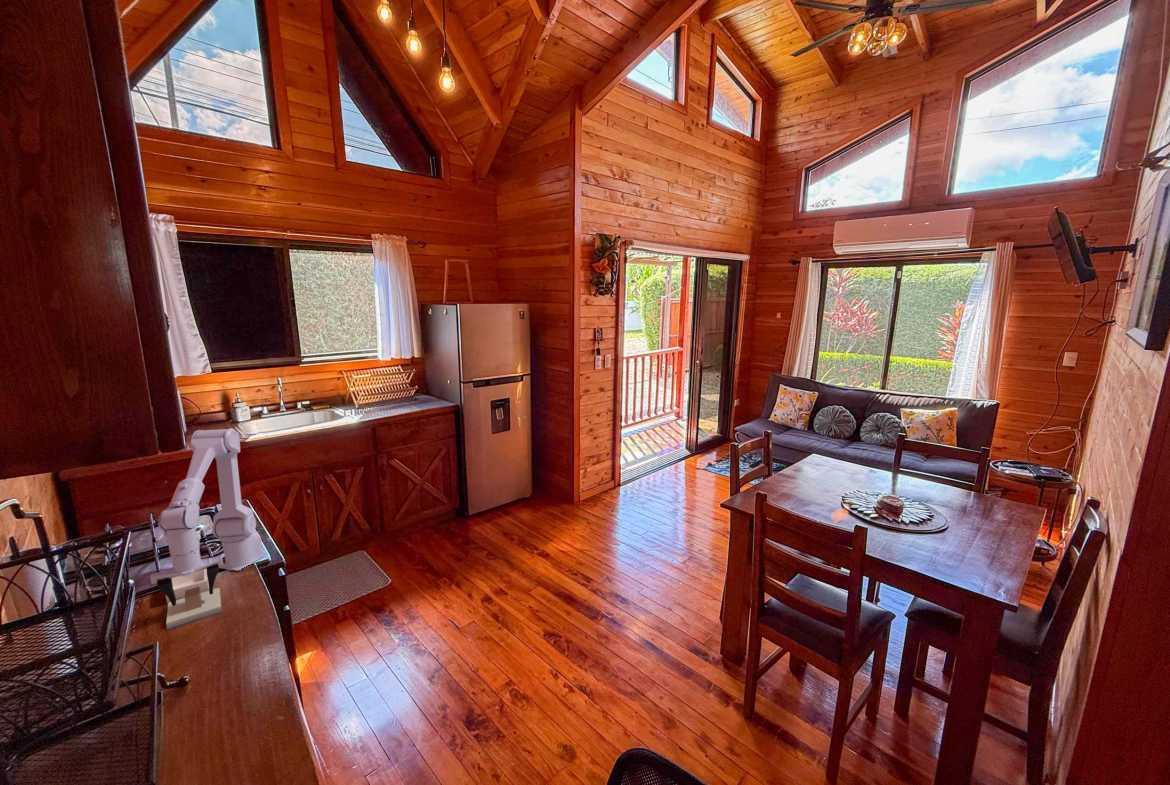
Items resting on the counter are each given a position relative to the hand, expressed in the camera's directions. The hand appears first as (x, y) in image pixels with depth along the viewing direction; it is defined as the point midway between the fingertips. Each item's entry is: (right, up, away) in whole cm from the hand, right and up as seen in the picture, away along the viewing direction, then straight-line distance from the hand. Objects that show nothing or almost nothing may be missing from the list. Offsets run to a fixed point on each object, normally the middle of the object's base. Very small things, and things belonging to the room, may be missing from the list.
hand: (193, 598), depth 128 cm
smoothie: (-18, 0, +21) cm, 28 cm away
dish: (-9, -2, +9) cm, 12 cm away
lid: (0, -3, +1) cm, 3 cm away
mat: (0, -3, +1) cm, 3 cm away
